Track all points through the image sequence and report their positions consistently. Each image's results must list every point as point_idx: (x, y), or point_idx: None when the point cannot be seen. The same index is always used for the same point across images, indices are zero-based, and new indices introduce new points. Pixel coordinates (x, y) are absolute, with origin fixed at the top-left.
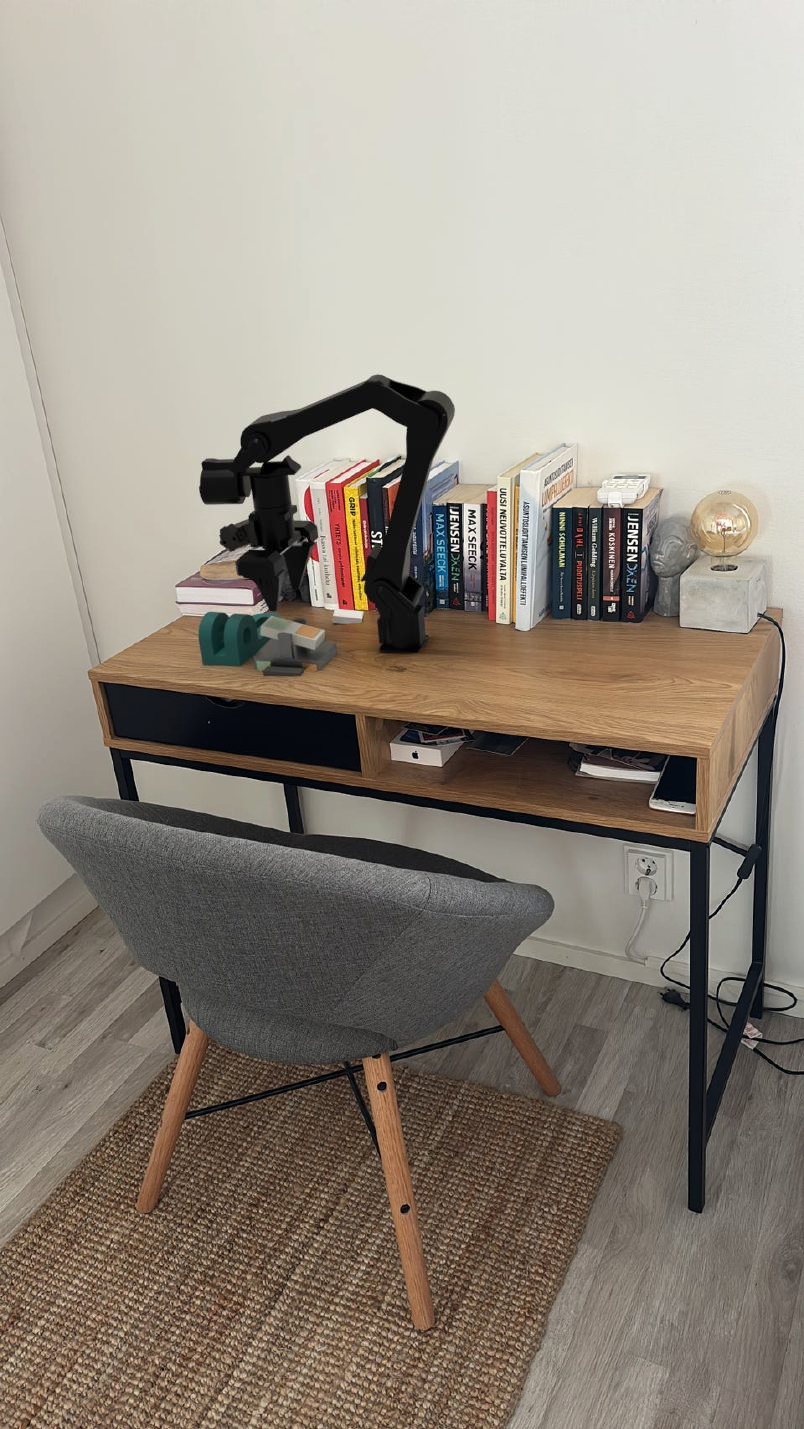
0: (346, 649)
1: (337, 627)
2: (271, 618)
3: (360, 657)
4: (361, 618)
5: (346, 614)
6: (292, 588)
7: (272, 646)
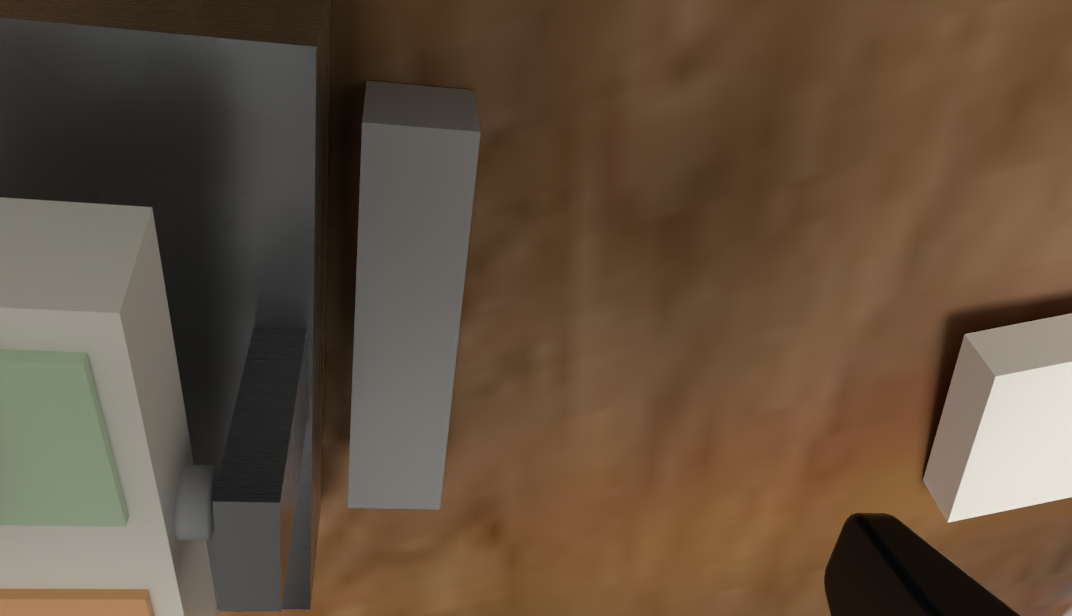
0: (511, 497)
1: (931, 343)
2: (31, 337)
3: (384, 597)
4: (950, 521)
5: (1032, 435)
6: (856, 521)
7: (92, 133)
